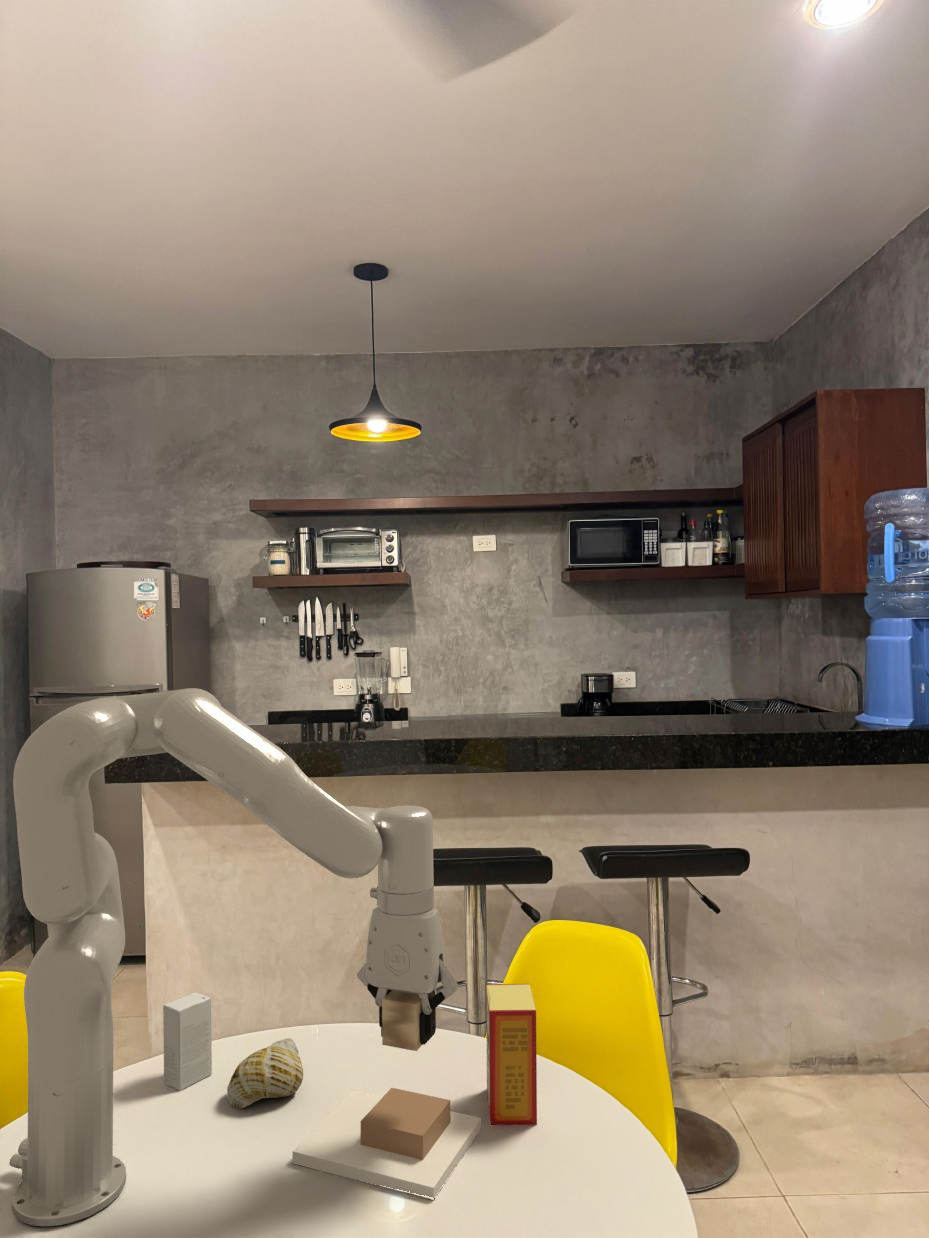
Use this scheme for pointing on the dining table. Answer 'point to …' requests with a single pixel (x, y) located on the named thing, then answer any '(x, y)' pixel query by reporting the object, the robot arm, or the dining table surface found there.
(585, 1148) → the dining table surface
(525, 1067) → the baking soda box
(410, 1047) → the oak block
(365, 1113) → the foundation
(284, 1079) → the seashell
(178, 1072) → the skincare box
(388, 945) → the robot arm
